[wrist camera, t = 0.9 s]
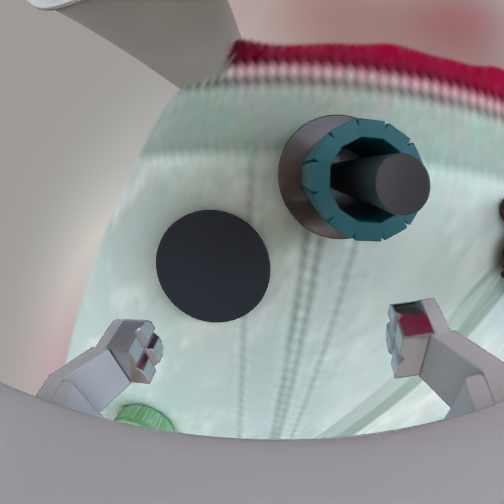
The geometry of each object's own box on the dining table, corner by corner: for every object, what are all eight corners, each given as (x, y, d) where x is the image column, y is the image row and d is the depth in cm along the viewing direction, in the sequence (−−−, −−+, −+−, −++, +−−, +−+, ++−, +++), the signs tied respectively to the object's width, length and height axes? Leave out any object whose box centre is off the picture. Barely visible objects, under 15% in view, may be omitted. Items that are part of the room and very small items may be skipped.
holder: (257, 153, 26) (220, 127, 10) (355, 103, 24) (433, 32, 8) (312, 251, 28) (342, 347, 12) (405, 201, 25) (519, 240, 10)
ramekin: (160, 398, 34) (148, 421, 30) (188, 443, 36) (181, 465, 32) (109, 400, 36) (95, 419, 32) (138, 442, 38) (128, 461, 34)
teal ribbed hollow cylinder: (286, 159, 23) (287, 152, 15) (356, 123, 21) (391, 101, 13) (325, 231, 24) (345, 261, 16) (392, 195, 23) (441, 208, 14)
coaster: (138, 245, 29) (136, 246, 29) (231, 187, 27) (230, 187, 26) (196, 335, 31) (195, 337, 30) (291, 291, 29) (291, 293, 28)
